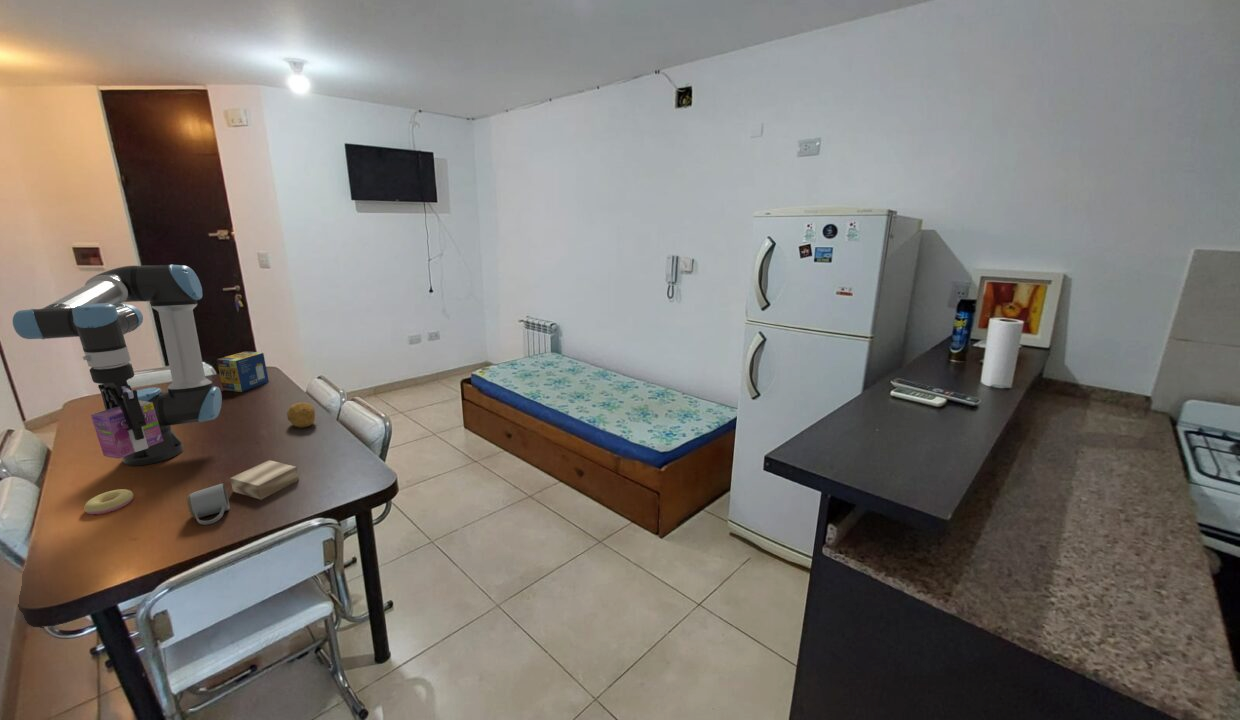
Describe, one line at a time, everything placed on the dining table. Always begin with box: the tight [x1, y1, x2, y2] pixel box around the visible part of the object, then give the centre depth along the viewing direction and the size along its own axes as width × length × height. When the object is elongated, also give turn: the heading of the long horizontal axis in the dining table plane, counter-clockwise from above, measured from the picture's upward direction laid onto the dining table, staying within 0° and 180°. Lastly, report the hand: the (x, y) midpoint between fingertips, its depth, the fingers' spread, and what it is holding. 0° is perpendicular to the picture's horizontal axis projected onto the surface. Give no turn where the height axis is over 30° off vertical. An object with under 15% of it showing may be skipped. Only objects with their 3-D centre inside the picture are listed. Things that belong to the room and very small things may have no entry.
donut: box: [83, 488, 134, 515], centre depth 137 cm, size 10×5×9 cm
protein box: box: [216, 350, 270, 393], centre depth 232 cm, size 10×15×16 cm
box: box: [90, 401, 163, 459], centre depth 127 cm, size 10×6×12 cm, turn 168°
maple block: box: [229, 459, 300, 500], centre depth 149 cm, size 12×12×5 cm
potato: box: [286, 402, 316, 428], centre depth 191 cm, size 10×13×9 cm
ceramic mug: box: [186, 483, 231, 526], centre depth 133 cm, size 11×8×8 cm
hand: (134, 446), depth 128 cm, fingers closed on box, 6 cm apart
